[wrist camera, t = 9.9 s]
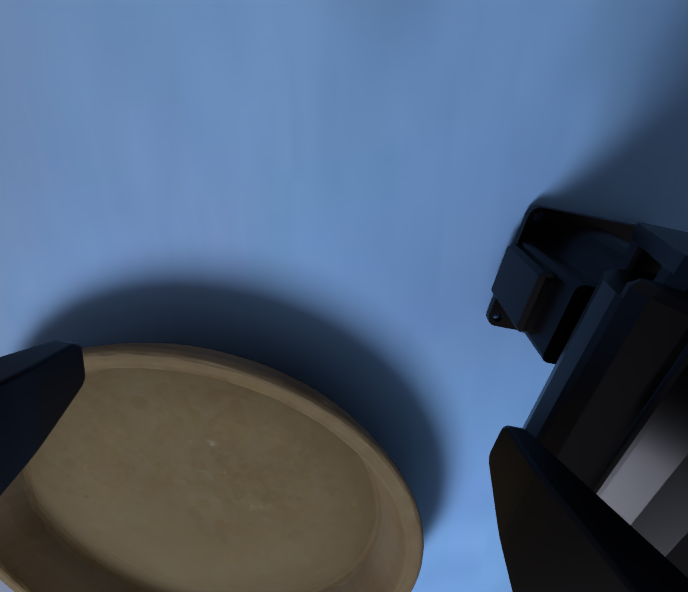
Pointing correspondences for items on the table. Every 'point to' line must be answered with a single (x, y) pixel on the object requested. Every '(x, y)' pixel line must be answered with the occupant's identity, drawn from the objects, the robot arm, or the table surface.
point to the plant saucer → (206, 486)
